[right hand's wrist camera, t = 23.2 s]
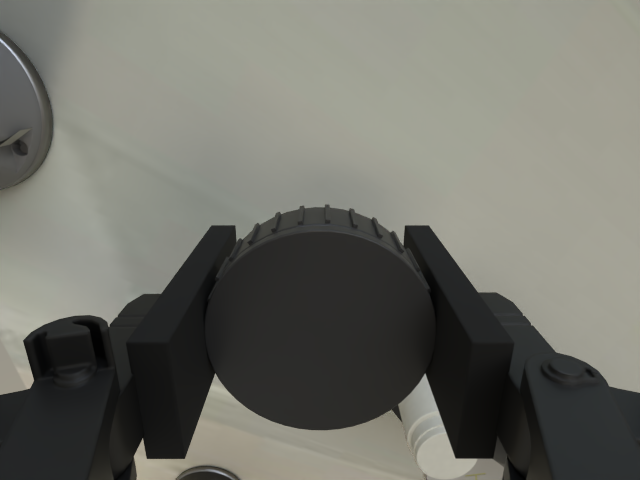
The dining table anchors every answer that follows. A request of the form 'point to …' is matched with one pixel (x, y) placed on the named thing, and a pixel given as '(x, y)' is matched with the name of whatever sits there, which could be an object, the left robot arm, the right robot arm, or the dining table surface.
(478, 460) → the grey flat rectangular slab
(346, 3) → the dining table surface
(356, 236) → the lid
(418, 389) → the white cylindrical bottle
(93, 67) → the dining table surface
